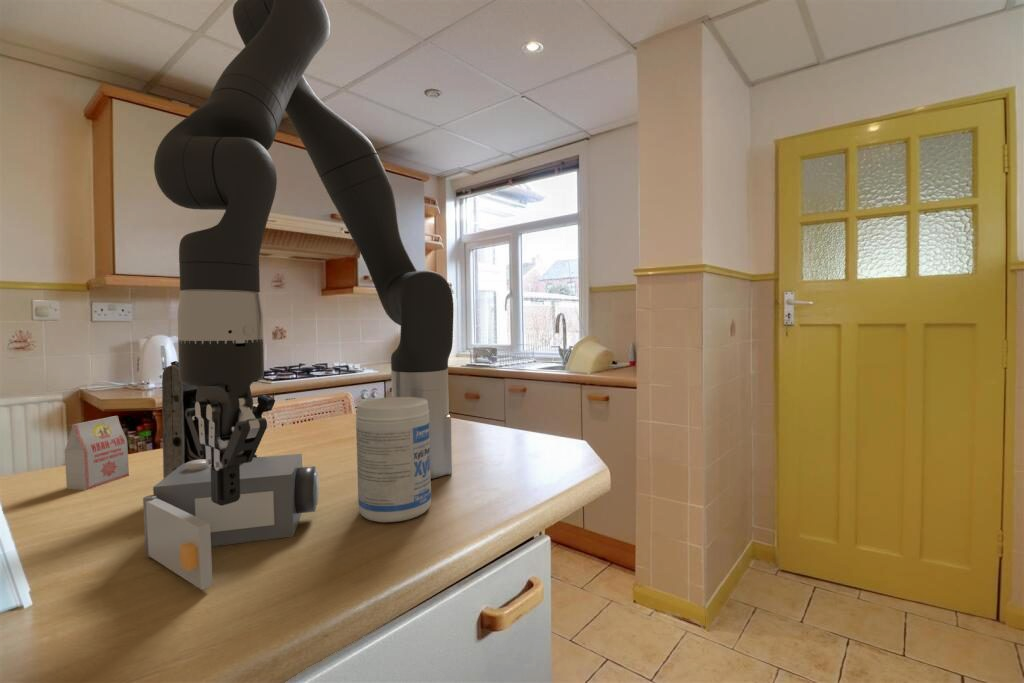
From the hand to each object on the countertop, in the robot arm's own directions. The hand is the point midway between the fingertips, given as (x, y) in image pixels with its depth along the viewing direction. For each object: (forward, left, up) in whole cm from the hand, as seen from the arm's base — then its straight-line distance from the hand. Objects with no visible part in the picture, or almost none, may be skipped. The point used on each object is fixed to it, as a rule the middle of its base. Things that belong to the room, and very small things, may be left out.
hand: (226, 501), depth 51 cm
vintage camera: (+5, -25, -7) cm, 26 cm away
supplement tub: (-18, -10, -7) cm, 21 cm away
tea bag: (+27, -36, -7) cm, 46 cm away
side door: (+5, 0, -6) cm, 8 cm away
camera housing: (0, -10, -7) cm, 12 cm away
